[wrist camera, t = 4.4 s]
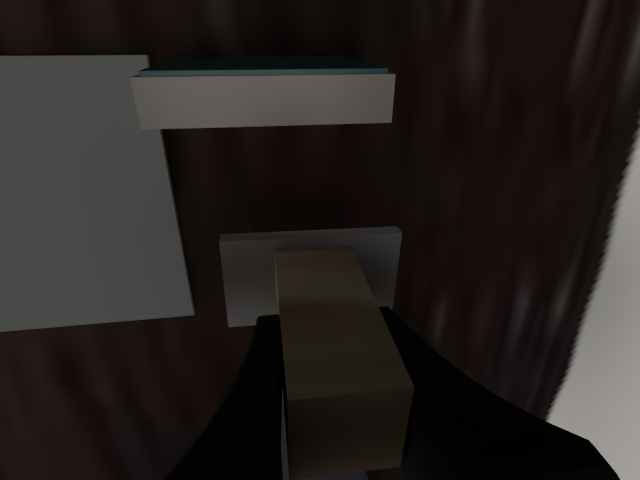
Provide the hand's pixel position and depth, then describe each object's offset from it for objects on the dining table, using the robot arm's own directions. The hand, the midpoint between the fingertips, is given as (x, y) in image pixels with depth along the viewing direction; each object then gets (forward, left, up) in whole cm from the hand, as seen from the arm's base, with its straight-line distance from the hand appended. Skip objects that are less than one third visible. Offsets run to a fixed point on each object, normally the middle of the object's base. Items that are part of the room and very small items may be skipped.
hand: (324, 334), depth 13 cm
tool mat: (+1, +12, -10) cm, 16 cm away
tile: (+7, +1, -10) cm, 12 cm away
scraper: (0, 0, -4) cm, 4 cm away
